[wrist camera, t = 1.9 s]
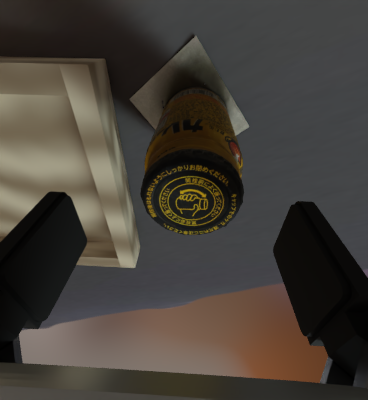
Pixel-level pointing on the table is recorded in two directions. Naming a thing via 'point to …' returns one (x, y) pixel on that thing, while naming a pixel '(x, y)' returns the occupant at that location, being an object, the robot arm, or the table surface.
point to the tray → (66, 151)
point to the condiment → (191, 145)
